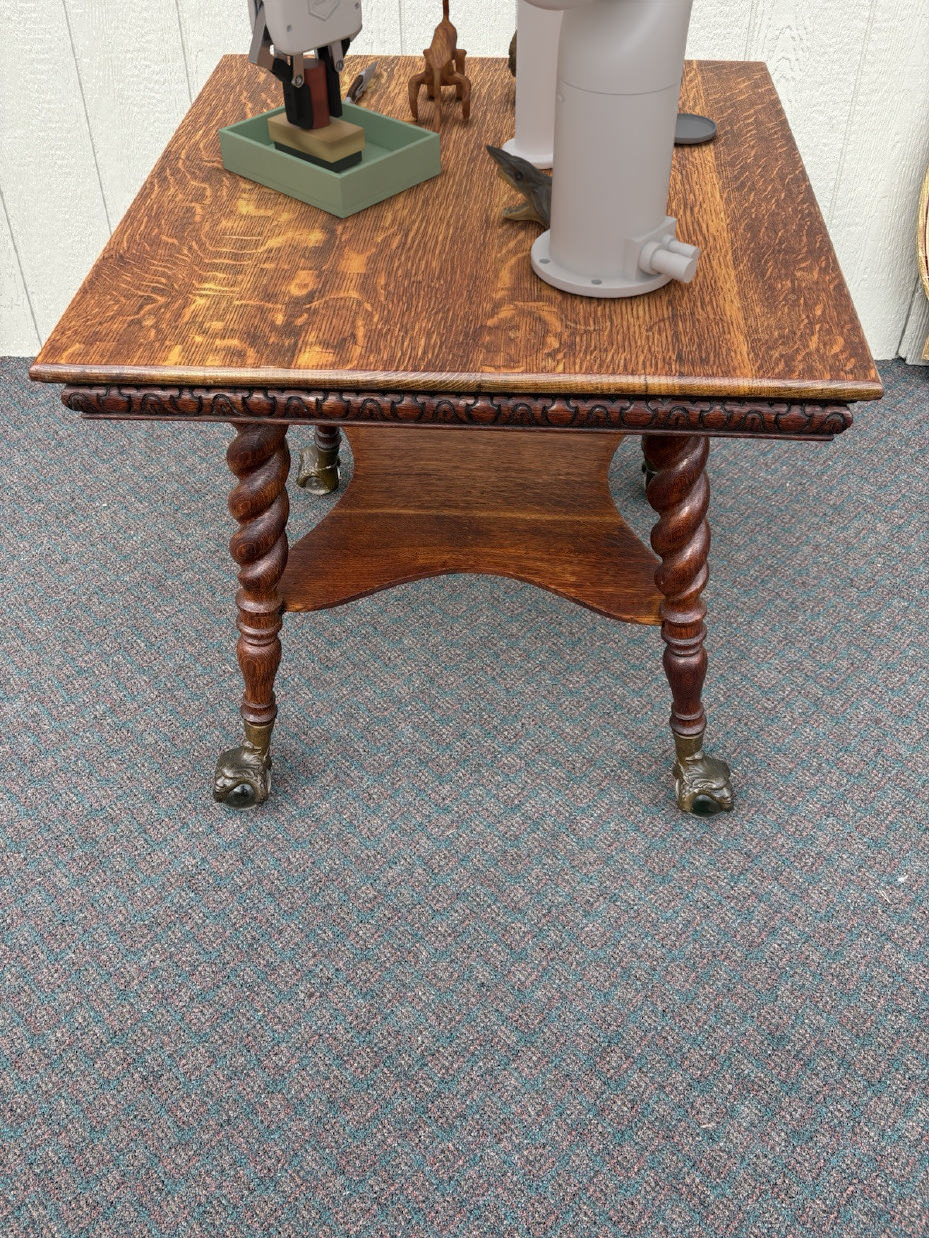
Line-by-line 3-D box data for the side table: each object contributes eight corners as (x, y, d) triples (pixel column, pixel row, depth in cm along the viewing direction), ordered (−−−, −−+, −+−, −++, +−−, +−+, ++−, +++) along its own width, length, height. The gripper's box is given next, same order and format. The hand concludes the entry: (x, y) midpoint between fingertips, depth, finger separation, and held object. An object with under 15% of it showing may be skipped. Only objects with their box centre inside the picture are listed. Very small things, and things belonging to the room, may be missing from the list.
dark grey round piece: (714, 150, 115) (729, 43, 108) (630, 144, 116) (639, 39, 109) (717, 119, 120) (732, 16, 113) (638, 114, 122) (647, 12, 115)
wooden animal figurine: (466, 152, 115) (465, 4, 105) (401, 151, 115) (394, 3, 106) (478, 88, 128) (477, -50, 118) (419, 87, 128) (414, -50, 119)
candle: (561, 174, 111) (575, -127, 94) (492, 165, 113) (494, -132, 95) (580, 146, 116) (597, -145, 98) (513, 138, 117) (518, -150, 100)
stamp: (366, 161, 111) (359, 67, 105) (333, 176, 109) (323, 81, 103) (304, 138, 116) (294, 46, 110) (271, 151, 113) (258, 59, 107)
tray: (441, 173, 111) (440, 134, 109) (343, 219, 105) (339, 178, 102) (321, 129, 120) (318, 91, 117) (223, 168, 113) (217, 129, 110)
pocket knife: (351, 114, 123) (349, 95, 121) (343, 114, 123) (341, 95, 121) (382, 70, 132) (381, 52, 131) (374, 70, 132) (373, 52, 131)
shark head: (480, 235, 102) (480, 159, 97) (489, 204, 106) (490, 130, 102) (569, 240, 101) (573, 164, 96) (575, 209, 105) (579, 134, 101)
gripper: (246, -74, 91) (276, 156, 104) (391, -112, 100) (402, 105, 112) (188, -89, 95) (224, 135, 107) (332, -124, 103) (349, 87, 116)
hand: (315, 118), depth 110 cm, fingers closed on stamp, 3 cm apart
